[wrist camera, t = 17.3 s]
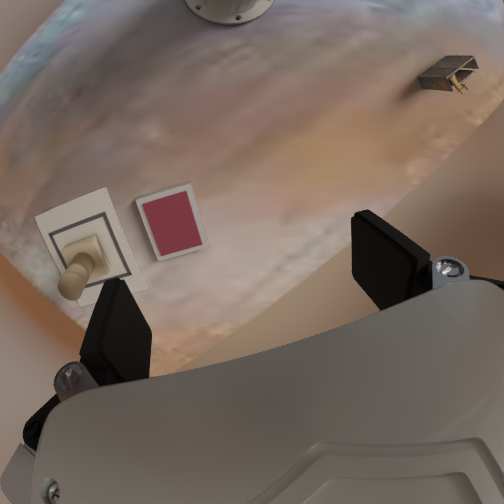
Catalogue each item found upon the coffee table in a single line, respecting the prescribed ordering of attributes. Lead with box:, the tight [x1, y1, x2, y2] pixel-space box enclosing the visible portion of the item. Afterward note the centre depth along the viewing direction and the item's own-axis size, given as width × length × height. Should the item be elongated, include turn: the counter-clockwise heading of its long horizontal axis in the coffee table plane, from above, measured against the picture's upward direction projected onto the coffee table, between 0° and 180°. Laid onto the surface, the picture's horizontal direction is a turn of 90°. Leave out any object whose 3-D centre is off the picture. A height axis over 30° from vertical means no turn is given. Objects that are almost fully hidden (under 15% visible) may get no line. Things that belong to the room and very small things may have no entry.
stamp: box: [58, 234, 111, 301], centre depth 36 cm, size 6×6×10 cm
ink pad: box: [136, 181, 209, 261], centre depth 40 cm, size 10×8×2 cm
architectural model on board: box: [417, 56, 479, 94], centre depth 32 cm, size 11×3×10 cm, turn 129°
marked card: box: [34, 187, 148, 307], centre depth 40 cm, size 18×14×1 cm
